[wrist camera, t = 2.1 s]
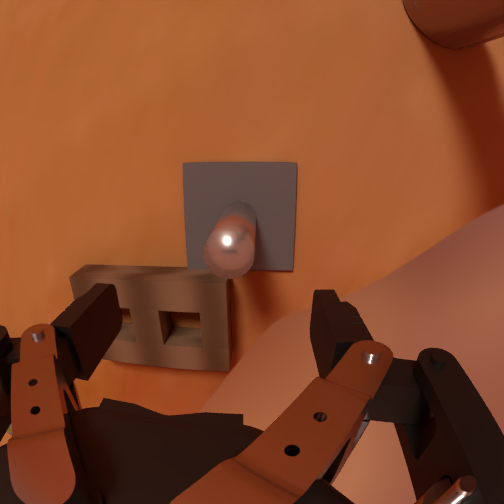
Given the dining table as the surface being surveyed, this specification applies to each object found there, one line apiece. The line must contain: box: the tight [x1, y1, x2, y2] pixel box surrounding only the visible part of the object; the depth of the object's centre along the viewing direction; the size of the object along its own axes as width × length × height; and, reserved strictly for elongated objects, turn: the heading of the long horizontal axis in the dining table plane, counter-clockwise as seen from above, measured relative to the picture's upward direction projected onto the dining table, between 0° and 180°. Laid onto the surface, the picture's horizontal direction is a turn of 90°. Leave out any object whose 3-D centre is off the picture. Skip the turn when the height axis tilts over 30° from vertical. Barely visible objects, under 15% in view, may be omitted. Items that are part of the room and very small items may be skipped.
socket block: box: [69, 265, 232, 372], centre depth 29 cm, size 16×10×4 cm, turn 90°
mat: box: [183, 162, 297, 270], centre depth 27 cm, size 10×10×1 cm
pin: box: [203, 201, 256, 279], centre depth 22 cm, size 3×3×10 cm
